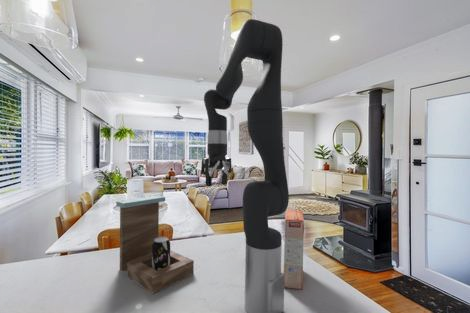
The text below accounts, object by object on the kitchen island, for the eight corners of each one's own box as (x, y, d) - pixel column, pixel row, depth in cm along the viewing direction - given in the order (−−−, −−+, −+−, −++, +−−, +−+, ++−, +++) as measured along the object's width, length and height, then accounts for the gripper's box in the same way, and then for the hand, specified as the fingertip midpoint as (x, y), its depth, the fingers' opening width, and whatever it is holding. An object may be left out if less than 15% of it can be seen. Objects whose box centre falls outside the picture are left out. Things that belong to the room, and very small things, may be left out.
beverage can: (150, 280, 76) (150, 242, 76) (153, 271, 82) (153, 236, 82) (169, 278, 77) (169, 241, 77) (170, 270, 83) (170, 235, 83)
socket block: (193, 273, 80) (193, 260, 80) (153, 293, 69) (153, 278, 69) (166, 260, 90) (166, 248, 90) (127, 276, 78) (127, 262, 78)
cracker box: (303, 290, 71) (304, 220, 71) (282, 288, 73) (284, 218, 73) (301, 269, 85) (302, 209, 85) (284, 266, 86) (285, 208, 86)
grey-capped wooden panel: (164, 258, 92) (165, 197, 91) (122, 274, 79) (123, 203, 79) (157, 255, 95) (157, 195, 95) (115, 270, 82) (116, 201, 82)
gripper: (211, 141, 84) (210, 188, 84) (236, 143, 95) (236, 184, 95) (196, 142, 89) (196, 186, 89) (222, 143, 100) (222, 182, 100)
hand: (216, 185), depth 92 cm, fingers open, 8 cm apart
